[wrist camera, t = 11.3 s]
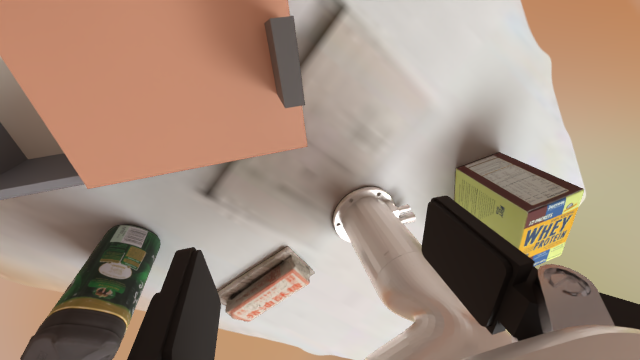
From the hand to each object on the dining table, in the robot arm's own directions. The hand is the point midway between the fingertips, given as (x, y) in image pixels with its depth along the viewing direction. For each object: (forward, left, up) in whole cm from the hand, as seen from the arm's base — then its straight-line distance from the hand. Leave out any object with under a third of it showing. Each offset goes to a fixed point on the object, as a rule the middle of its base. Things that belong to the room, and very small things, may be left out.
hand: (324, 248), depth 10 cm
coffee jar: (+26, +19, -30) cm, 44 cm away
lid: (+8, -6, -20) cm, 22 cm away
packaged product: (+8, +36, -31) cm, 48 cm away
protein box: (-40, +25, -31) cm, 56 cm away
